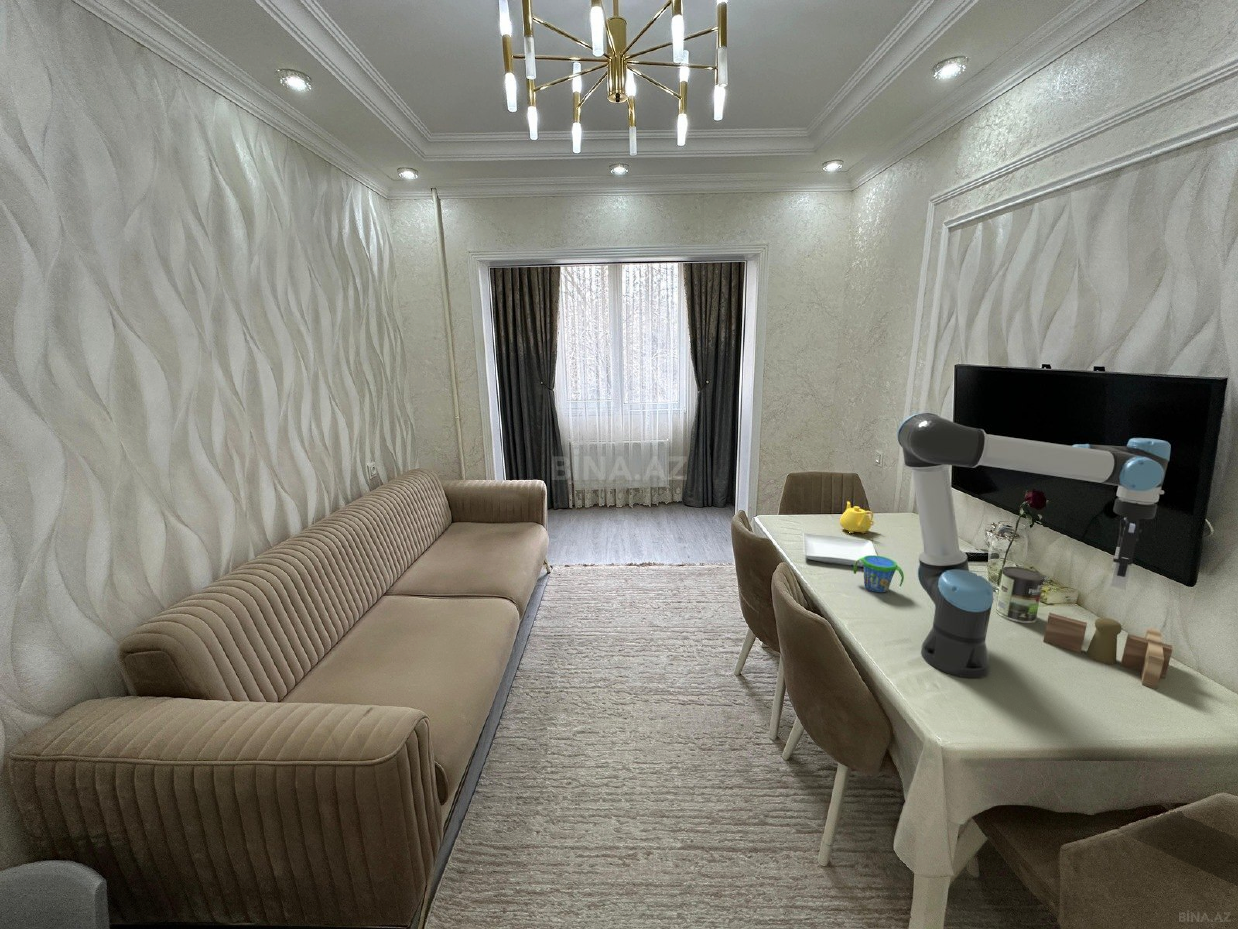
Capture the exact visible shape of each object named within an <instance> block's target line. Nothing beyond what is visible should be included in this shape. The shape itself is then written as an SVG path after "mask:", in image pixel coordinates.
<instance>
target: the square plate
mask: <svg viewBox="0 0 1238 929" xmlns="http://www.w3.org/2000/svg"><path fill="white" fill-rule="evenodd" d="M802 539H803V549H802V550H803V551H802V554H803V556H804V557H806V559H808V560H812V561H817V562H820V561H822V562H821V563H827V562H829V563H828V564H835V563H836V565H844V566H851V565H853V567H854V564H855V562H856V561H857V560H858V559H860V558H863V557H865V556H869V555H875V556H878V554H877V551H876V550H875V546H874V544H873V542H872V540H869V539H860V538H855V537H854V538H853V537H848V536H847V537H846V536H839V535H829V534H816V533H806V532H804V533H802ZM857 567H860V568H862V567H863V562H862V561H858V563H857ZM863 568H864V567H863Z"/></svg>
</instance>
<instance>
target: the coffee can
mask: <svg viewBox="0 0 1238 929" xmlns="http://www.w3.org/2000/svg"><path fill="white" fill-rule="evenodd" d="M1001 571H1002V572H1001V578H1000V582H999V589H998V593H997V594H998V596H997V602H996V606H995V609H996V611H995V613H996V614H997V613H998V614H997V615H998V616H1000V617H1002V616H1003V617H1002V618H1003V619H1005V620H1006V619H1007V620H1010V621H1011V622H1015V623H1021V624H1034V623H1035V622H1036V621H1037V618H1038V611H1039V610H1038V609H1039V606H1040V601H1041V595H1042V592H1043V587H1044V586H1043V585H1044V582H1045V576H1044V575H1043V574H1041V573H1040V572H1038V571H1035V570H1033V569H1029V568H1024V567H1019V566H1004V567H1002V569H1001Z"/></svg>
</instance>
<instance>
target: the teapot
mask: <svg viewBox="0 0 1238 929" xmlns="http://www.w3.org/2000/svg"><path fill="white" fill-rule="evenodd" d="M869 514H870V516H869ZM873 518H874V513H873V512H872V511H870V510H865V509H863V508H861V507H860V506H853V507H852V505H851V502H850V501H846V509H845V511H844V512H843V513H842V515H841V516H840V518H839V525H840V526H841V528H842V529H843V528H844V529H846V530H845V531H848V532H850V533H854V532H855V533H860V532H861V533H866V532H867V531H869V530H870V529H871V526H873V525H874V524H875V522H874V521H873ZM844 529H843V530H844ZM861 533H860V534H861Z"/></svg>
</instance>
